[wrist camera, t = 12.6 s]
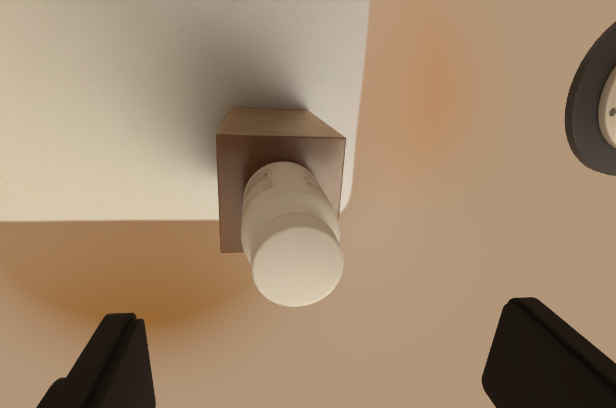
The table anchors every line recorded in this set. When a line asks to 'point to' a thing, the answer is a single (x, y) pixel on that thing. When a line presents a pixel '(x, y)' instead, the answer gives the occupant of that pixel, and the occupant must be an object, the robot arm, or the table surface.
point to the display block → (272, 158)
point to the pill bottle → (290, 235)
